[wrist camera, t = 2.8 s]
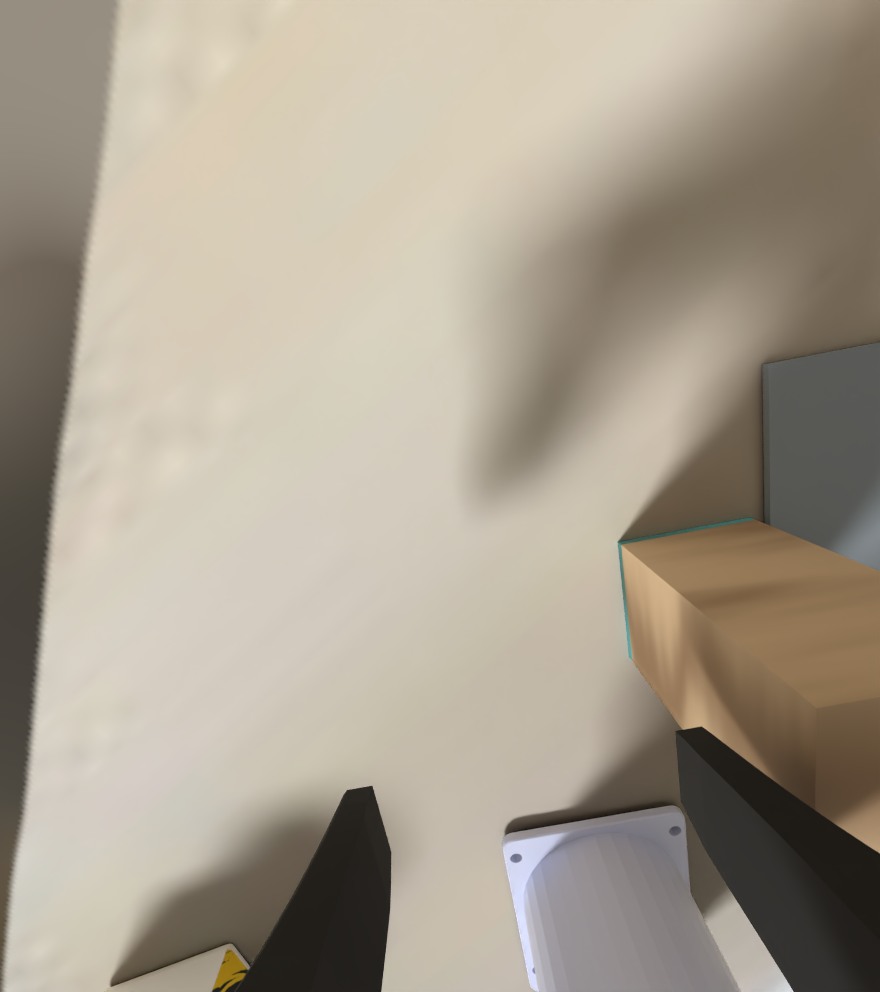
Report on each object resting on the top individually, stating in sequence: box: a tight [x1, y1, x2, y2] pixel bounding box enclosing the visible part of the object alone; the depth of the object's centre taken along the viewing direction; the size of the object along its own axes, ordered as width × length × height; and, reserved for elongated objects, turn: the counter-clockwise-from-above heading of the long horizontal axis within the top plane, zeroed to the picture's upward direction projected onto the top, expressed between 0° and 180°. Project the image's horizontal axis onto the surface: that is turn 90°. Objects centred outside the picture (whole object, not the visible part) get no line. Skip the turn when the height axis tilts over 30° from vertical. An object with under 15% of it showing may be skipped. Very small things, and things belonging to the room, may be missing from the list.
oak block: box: [618, 517, 880, 853], centre depth 13 cm, size 5×5×9 cm
